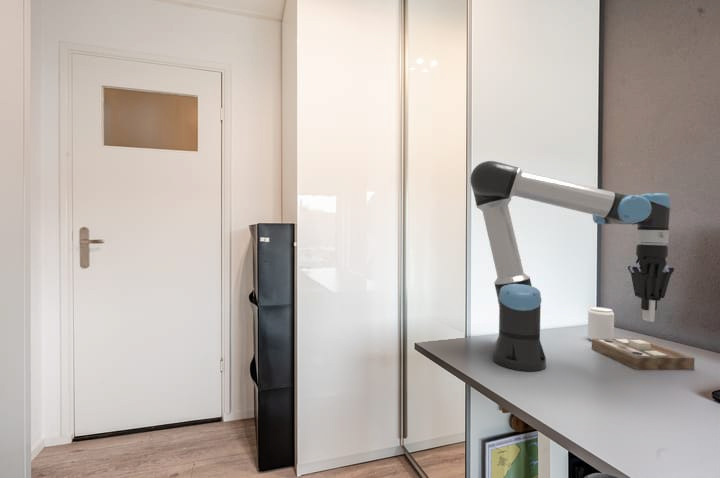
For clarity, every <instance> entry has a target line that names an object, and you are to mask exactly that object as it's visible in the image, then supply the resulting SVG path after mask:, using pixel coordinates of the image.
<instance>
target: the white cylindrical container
mask: <svg viewBox="0 0 720 478" xmlns="http://www.w3.org/2000/svg"><path fill="white" fill-rule="evenodd" d="M587 311H588V313H587V316H588V317H587V338H588V340H591V341H592V339H615V338H614V337H615V331H614V330H615V312H613V311H614V310H613V309H611V308H607V307H601V306H591V307H589V310H587Z"/></svg>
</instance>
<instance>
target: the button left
mask: <svg viewBox="0 0 720 478" xmlns="http://www.w3.org/2000/svg"><path fill="white" fill-rule="evenodd" d="M614 339H615V341H617V342H619V343H622V344H628V340H627V339H628V338H614Z"/></svg>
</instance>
